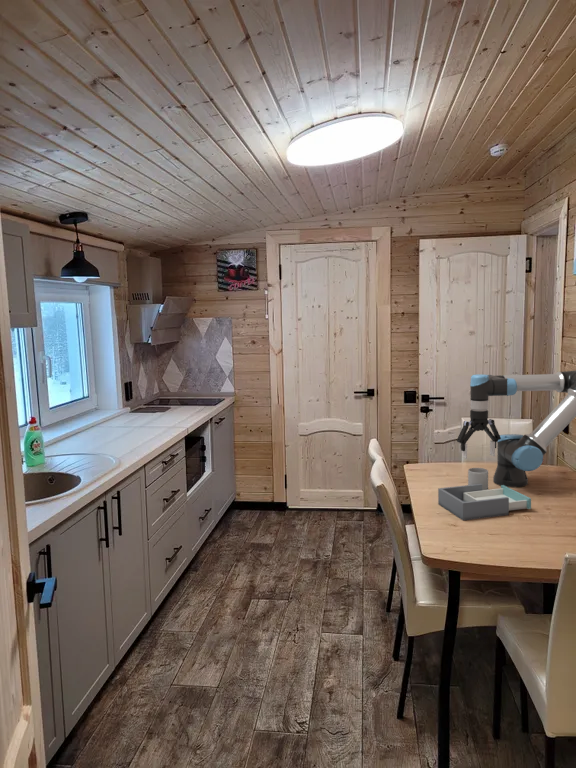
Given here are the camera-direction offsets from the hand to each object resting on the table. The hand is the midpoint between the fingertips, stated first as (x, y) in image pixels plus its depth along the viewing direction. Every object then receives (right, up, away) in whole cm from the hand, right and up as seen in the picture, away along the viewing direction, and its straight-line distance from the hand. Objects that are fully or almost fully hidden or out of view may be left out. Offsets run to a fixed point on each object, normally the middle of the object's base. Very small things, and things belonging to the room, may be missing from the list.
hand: (478, 456), depth 247 cm
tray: (+1, -17, -16) cm, 24 cm away
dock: (-9, -19, -18) cm, 28 cm away
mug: (+1, -17, +2) cm, 17 cm away
